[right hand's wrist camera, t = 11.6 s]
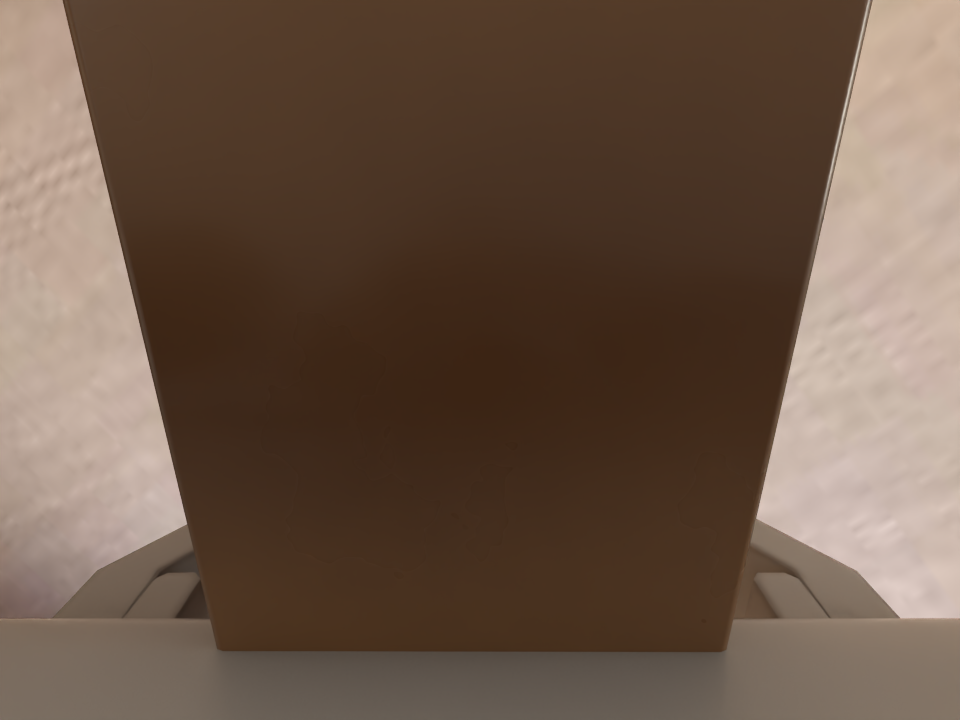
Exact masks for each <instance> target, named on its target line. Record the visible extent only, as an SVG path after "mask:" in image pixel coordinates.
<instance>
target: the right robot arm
mask: <svg viewBox="0 0 960 720" xmlns="http://www.w3.org/2000/svg"><path fill="white" fill-rule="evenodd" d="M0 720H960V618H900V617H899V616H898V615H897V614H896V613H895V612H894V611H893V610H892V609H891V608H890V607H889V605H888V604H887V603H886V602H885V601H884V600H883V599H882V598H881V597H880V596H879V595H878V593H877V592H876V591H875V590H874V589H873V588H872V587H871V586H870V585H869V584H868V583H867V582H866V580H865V579H864V578H863V577H862V576H861V575H860V574H859V573H858V572H857V571H856V570H854V569H852V568H850V567H848V566H846V565H844V564H842V563H840V562H838V561H836V560H834V559H832V558H831V557H829V556H827V555H825V554H823V553H821V552H819V551H817V550H815V549H813V548H811V547H809V546H807V545H805V544H804V543H802V542H800V541H798V540H796V539H794V538H792V537H790V536H788V535H786V534H784V533H782V532H780V531H779V530H777V529H775V528H773V527H771V526H769V525H767V524H765V523H763V522H761V521H759V520H757V519H756V521H755V525H754V529H753V534H752V538H751V543H750V547H749V552H748V556H747V561H746V565H745V570H744V574H743V578H742V583H741V587H740V592H739V596H738V601H737V605H736V610H735V614H734V618H733V623H732V627H731V632H730V636H729V641H728V645H727V650H725V651H722V652H410V651H221V650H219V649H217V646H216V642H215V638H214V634H213V630H212V625H211V621H210V617H209V613H208V609H207V604H206V600H205V596H204V592H203V588H202V583H201V579H200V575H199V571H198V567H197V562H196V558H195V554H194V550H193V546H192V541H191V537H190V533H189V529H188V525H185V526H183V527H181V528H179V529H177V530H175V531H173V532H172V533H170V534H168V535H166V536H164V537H162V538H160V539H158V540H156V541H154V542H152V543H150V544H148V545H146V546H144V547H142V548H140V549H138V550H136V551H134V552H133V553H131V554H129V555H127V556H125V557H123V558H121V559H119V560H117V561H115V562H113V563H111V564H109V565H107V566H105V567H103V568H101V569H99V570H97V572H96V573H95V574H94V575H93V576H92V577H91V578H90V579H89V580H88V581H87V582H86V583H85V584H84V585H83V586H82V587H81V588H80V590H79V591H78V592H77V593H76V594H75V595H74V596H73V597H72V598H71V599H70V600H69V601H68V602H67V603H66V604H65V605H64V606H63V608H62V609H61V610H60V611H59V612H58V613H57V614H56V615H55V616H54V617H53V618H52V619H0Z"/></svg>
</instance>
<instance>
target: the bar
mask: <svg viewBox="0 0 960 720" xmlns="http://www.w3.org/2000/svg"><path fill="white" fill-rule="evenodd" d="M63 4H64V8H65V12H66V16H67V20H68V25H69V29H70V33H71V37H72V41H73V46H74V50H75V54H76V58H77V62H78V67H79V71H80V75H81V79H82V83H83V88H84V92H85V96H86V100H87V104H88V109H89V113H90V117H91V121H92V125H93V130H94V134H95V138H96V142H97V146H98V151H99V155H100V159H101V163H102V167H103V172H104V176H105V180H106V184H107V188H108V193H109V197H110V201H111V205H112V209H113V214H114V218H115V222H116V226H117V230H118V235H119V239H120V243H121V247H122V251H123V256H124V260H125V264H126V268H127V273H128V277H129V281H130V285H131V289H132V294H133V298H134V302H135V306H136V310H137V315H138V319H139V323H140V327H141V331H142V336H143V340H144V344H145V348H146V352H147V357H148V361H149V365H150V369H151V373H152V378H153V382H154V386H155V390H156V394H157V399H158V403H159V407H160V411H161V415H162V420H163V424H164V428H165V432H166V436H167V441H168V445H169V449H170V453H171V457H172V462H173V466H174V470H175V474H176V478H177V483H178V487H179V491H180V495H181V499H182V504H183V508H184V512H185V516H186V520H187V525H188V529H189V533H190V537H191V541H192V546H193V550H194V554H195V558H196V562H197V567H198V571H199V575H200V579H201V583H202V588H203V592H204V596H205V600H206V604H207V609H208V613H209V617H210V621H211V625H212V630H213V634H214V638H215V642H216V646H217V649H219V650H221V651H410V652H722V651H725V650H727V645H728V641H729V636H730V632H731V627H732V623H733V618H734V614H735V610H736V605H737V601H738V596H739V592H740V587H741V583H742V578H743V574H744V570H745V565H746V561H747V556H748V552H749V547H750V543H751V538H752V534H753V529H754V525H755V521H756V516H757V512H758V507H759V503H760V498H761V494H762V489H763V485H764V481H765V476H766V472H767V467H768V463H769V458H770V454H771V449H772V445H773V440H774V436H775V432H776V427H777V423H778V418H779V414H780V409H781V405H782V400H783V396H784V392H785V387H786V383H787V378H788V374H789V369H790V365H791V360H792V356H793V351H794V347H795V343H796V338H797V334H798V329H799V325H800V320H801V316H802V311H803V307H804V303H805V298H806V294H807V289H808V285H809V280H810V276H811V271H812V267H813V262H814V258H815V254H816V249H817V245H818V240H819V236H820V231H821V227H822V222H823V218H824V214H825V209H826V205H827V200H828V196H829V191H830V187H831V182H832V178H833V173H834V169H835V165H836V160H837V156H838V151H839V147H840V142H841V138H842V133H843V129H844V125H845V120H846V116H847V111H848V107H849V102H850V98H851V93H852V89H853V84H854V80H855V76H856V71H857V67H858V62H859V58H860V53H861V49H862V44H863V40H864V36H865V31H866V27H867V22H868V18H869V13H870V9H871V4H872V0H63Z"/></svg>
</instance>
